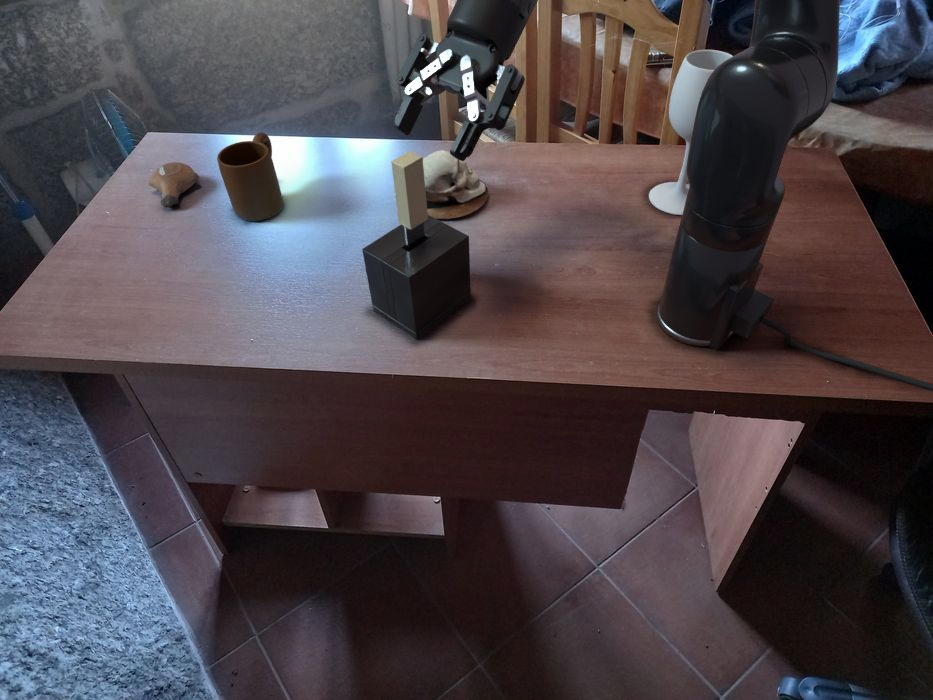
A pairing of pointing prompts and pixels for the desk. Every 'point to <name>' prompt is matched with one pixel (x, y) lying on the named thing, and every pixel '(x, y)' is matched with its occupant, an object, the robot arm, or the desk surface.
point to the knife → (410, 197)
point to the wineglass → (685, 120)
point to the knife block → (419, 276)
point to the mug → (251, 178)
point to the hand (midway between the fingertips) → (428, 144)
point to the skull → (451, 186)
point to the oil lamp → (172, 181)
